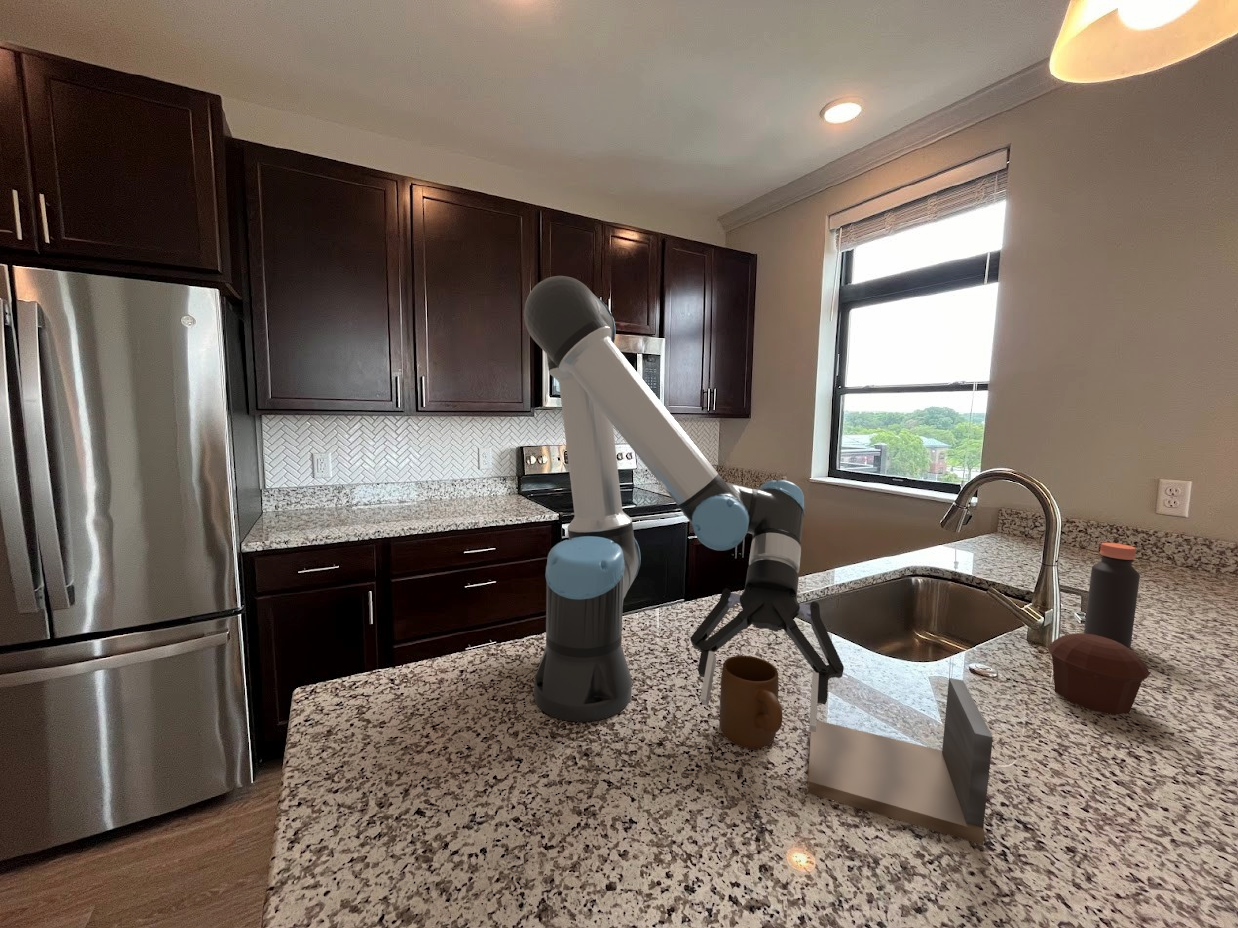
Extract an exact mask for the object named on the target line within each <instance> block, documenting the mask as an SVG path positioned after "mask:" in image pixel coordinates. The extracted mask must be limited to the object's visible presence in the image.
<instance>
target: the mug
mask: <svg viewBox="0 0 1238 928" xmlns="http://www.w3.org/2000/svg"><path fill="white" fill-rule="evenodd" d="M777 669H778V668H776V666H775V665H773V664H772V663H770V662H769V661H767V660H765V659H762V658H760V657H756V656H751V655H736V656H735V655H734V656H731V657H728V658H726V660H724V662H723V663H722V668H721V679H720V694H719V696H720V697H719V718H718V721H719V722H718V723H719V729H720V732H721V734H722V735H723V737H724V738H725V739H726V740H728V741H729V743H732V744H734V745H736V746H737V747H740V748H744V749H747V750H748V749H749V750H759V749H764V748H767V747H768V746H770V745H771V744H772V743H773V742H774V740H775V738H776V733H778V732H779V731H780V730H781V728H782V724H783V710H782V709H783V708H782V706H781V703H780V700H779V687H780V686H779V671H778V670H777Z"/></svg>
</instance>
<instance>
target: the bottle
mask: <svg viewBox="0 0 1238 928" xmlns="http://www.w3.org/2000/svg"><path fill="white" fill-rule="evenodd" d="M1136 553H1137V548H1136V547H1135V546H1131V545H1127V544H1123V543H1114V542H1101V543H1100V551H1099V556H1100V558H1101V560H1100V561H1099V562H1097V563H1095V564H1093V565H1092V567H1091V571H1090V580H1089V588H1088V597H1087V603H1086V604H1087V605H1086V611H1085V613H1086V614H1085V622H1084V628H1083V629H1084V630H1083V633H1085V634H1093V635H1098V636H1102V637H1105V638H1108V639H1111V640H1114V641H1116V642H1118V643H1121V644H1122V645H1124V646H1126V647H1127V648H1129V649H1131V647H1132V641H1133V640H1132V639H1133V632H1134V623H1135V616H1136V608H1137V601H1138V593H1139V585H1140V578H1141V576H1140V573H1139V571H1137V570H1136V568H1135V567H1133V566H1132V565H1133V563H1134V562H1135V560H1136V556H1137V555H1136Z"/></svg>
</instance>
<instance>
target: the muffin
mask: <svg viewBox="0 0 1238 928" xmlns="http://www.w3.org/2000/svg"><path fill="white" fill-rule="evenodd" d="M1046 648H1047V650H1048V652H1049V654H1050V655H1051V657H1052V658H1051V660H1052V671H1053V673H1052V674H1053V682H1054V683H1053V685H1054V693H1056V694H1058V695H1059V696H1061V697H1062V698H1064V699H1065V700H1066V702H1069V703H1072V704H1074V705H1077V706H1078V707H1079V706H1080V707H1081V708H1084V709H1086V710H1088V711H1091V712H1097V713H1103V714H1105V715H1112V716H1114V717H1115V716H1120V715H1130V712H1131V711H1132V708H1133V706H1134V703H1135V699H1137V695H1138V693H1139V690H1140V687H1141V685H1142V682H1143V681H1144V680H1146V679H1148V678H1149V677H1150V675H1151V672H1150V671H1149V669H1148V666H1147V665H1146V663H1145V662H1144V661H1143V660H1142V658H1140V656H1138V655H1137V653H1135V652H1134V651H1133V650H1131V648H1127V647H1126V646H1124V645H1122V644H1121V643H1118V642H1116V641H1114V640H1111V639H1108V638H1105V637H1102V636H1098V635H1093V634H1085V633H1084V632H1079V633H1078V632H1075V633H1068V634H1063V635H1061V636H1060V637H1058V638H1056V639H1054V640H1053V641H1052V642H1051V643H1050V644H1049V645H1048V646H1047V647H1046Z"/></svg>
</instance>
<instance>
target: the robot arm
mask: <svg viewBox="0 0 1238 928" xmlns="http://www.w3.org/2000/svg"><path fill="white" fill-rule="evenodd" d="M523 314H524V315H523V316H524V319H523V320H524V323H525V326H526V329H527V332H528V333H529V336H530V337H531V338H532V340H533V341H534V342H535V343H536V344H537V345H538V346H539V348H540V349H542V351H544V353H545V354H546V360H547V367H548V369H547V370H548V374H549V375H550V376H551V377H553V378H554V379H555V380H556V381H557V382H558V386H559V394H560V404H561V412H562V418H563V419H562V421H563V428H564V436H565V437H564V438H565V445H566V446H565V447H566V452H567V453H566V454H567V462H568V471H569V479H570V487H571V496H572V504H573V513H574V517H573V519H572V520H571V522H570V523H569V524H568V525H567V532H568V535H567V536H568V539H565V540H563V541H560V542H557V543H556V544H555V545H554V546H553V547H552V548H551V549H550V551H549V552H548V554H547V561H546V566H545V580H546V581H545V585H546V586H545V589H546V590H545V591H546V594H545V597H546V599H545V601H546V602H545V606H546V607H545V612H546V613H545V618H546V619H545V647H544V650H543V653H542V657H541V659H540V662H539V664H538V668H537V670H536V673H535V677H534V681H533V699H534V702H535V704H536V705H537V707H538V708H539V709H540V710H541V711H543V712H544V713H546V714H547V715H548V716H551V717H553V718H555V719H559V720H563V721H567V722H578V723H580V722H581V723H582V722H583V723H584V722H594V721H600V720H603V719H607V718H610V717H612V716H614V715H616V714H618V713H620V712H621V711H622V710H624V709H625V708H626V707H627V706H628V705H629V703H630V702H631V699H632V693H633V692H632V691H633V690H632V688H633V686H632V685H633V680H632V676H631V673H630V669H629V665H628V662H627V660H626V656H625V653H624V648H623V646H622V641H623V640H622V637H623V607H624V606H623V605H624V599H625V598H626V596H627V593H628V591H629V589H630V588H631V586H632V584H633V582H634V581H635V580H636V578H637V576H638V573H639V570H640V567H641V550H640V546H639V544H638V541H637V539H636V538H635V535H634V526H633V519H632V517H630V516H629V515H628V514H627V513H625V512H624V511H623V505H622V495H621V487H620V477H619V469H618V461H617V459H618V458H617V450H616V441H615V432H614V428H615V429H616V430H617V432H618V433H619V435H621V437H622V438H623V439H624V441H625V442H626V443H627V444H628V445H629V447H630V448H631V449H632V450H633V452H634V453H635V454H636V455H637V457H638V458H639V459H640V460H641V462H642V463H643V464H644V465H645V467H646V468H647V469H648V470H649V472H650V473H651V474H652V475H653V477H654V478H655V479H656V481H657V482H658V483H659V484H660V485H661V486H662V488H663V490H664V491H666V493H667V494H668V495H669V496H670V498H671V499H672V500H673V501H674V503H676V505H677V507H678V508H679V509H680V511H681V512H682V513H683V515H684V516H685V517H686V519H687V520H688V521H689V522H690V524H691V528H692V529H693V533H694V534H695V536H696V539H697V540H698V541H699V542H700V543H701V544H702V545H704V546H705V547H707V548H708V549H711V550H714V551H729V550H731V549H733V548H736V547H737V546H739V545H740V544H741V543H742V541H743V540H744V539H745V538H746V536H747V534H751V535H752V540H751V544H750V545H751V546H750V550H749V551H750V553H749V559H748V560H749V561H748V567H747V572H746V579H745V584H744V585H745V586H744V590H743V592H742V594H739V593H734V592H732V591H731V590H730V588H726V587H725V588H723V589H722V592H721V595H720V598H719V600H718V602H717V603H716V605H715V606H714V607H713V609H711V611H710V612H709V613H708V615H707V616H706V617H705V618H704V619H703V620H702V622H701V623H700V625H699V626H698V627H697V628H696V629H695V631H694V632H693V634H691V636H690V642H691V645H692V647H693V649H694V650H697V651H699V652H700V657H699V663H698V666H697V672H698V675H699V678H703V682H702V686H701V687H702V688H701V693H700V697H699V698H700V699H699V700H700V702H701V703H702V705H703V706H707V707H709V704H710V700H711V699H710V698H711V691H712V688H713V682H714V675H715V668H716V663H717V657H716V652H717V651H718V650H719V649H721V648H722V647H723V646H724V645H726V644H727V643H728V642H730V640H731V639H733V638H735V637H736V636H737V635H738V634H739V633H741V632H742V631H743V630H746V629H748V628H749V627H750V626H751V625H753V626H754V627H755V629H759V630H763V629H764V630H765V629H767V630H770V631H771V632H777V633H779V631H782V630H783V631H784V632H785V634H786V635H787V637H788V638H790V639H791V640H792V642H793V644H794V645H795V646H796V648H797V649H798V651H799V652H800V653H801V654H802V656H803V657H804V658H805V660H806V661H807V663H808V664H809V665H810V667H811V669H812V670H813V671H812V673H811V674H812V675H811V676H812V677H811V693H810V694H811V695H810V709H809V710H810V711H809V728H808V731H809V732H811V731H812V732H816V721H818V720H817V717H818V716H817V715H818V704H820V705H823V706H824V705H825V706H826V704H827V702H828V698H829V697H828V693H829V681H830V679H833V678H837V679H841V678H842V677H843V673H844V669H845V667H844V664H843V662H842V660H841V658H840V656H839V654H838V651H837V649H836V648H835V645H834V643H833V641H832V639H831V637H830V635H829V633H828V631H827V629H826V626H825V625H824V624H825V623H824V622H823V621H822V617H821V612H820V611H821V610H820V609H821V608H820V603H818V602H817V601H812V602H810V604H803V603H802V604H801V603H799V601H798V591H799V590H798V589H799V578H800V577H799V576H800V575H799V572H800V567H801V566H800V564H801V553H802V535H803V527H804V518H805V512H806V511H805V496H804V492H803V491H802V489H801V488H800V487H799V486H798V485H797V484H795V483H794V482H792V481H788V480H785V479H779V480H778V481H777V480H775V479H774V480H773V479H772V480H769V481H766V482H764V483H762V485H761V486H760V488H758V489H757V488H751V487H747V486H743V485H740V484H735V483H731V482H726V481H725V480H724V478H722V477H721V476H720V474H719V472H718V471H717V470H716V469H715V467H713V465H712V464H711V463H710V462H709V460H708V459H707V458H706V457H705V455H704V454H703V453H702V451H701V450H700V449H699V448H698V446H697V445H696V444H695V443H694V441H692V439H691V438H690V437H689V435H688V434H687V433H686V431H685V430H684V429H683V428H682V427H681V425H680V424H679V423H678V421H676V419H675V417H673V416H672V414H671V413H670V411H668V409H667V408H666V406H665V405H664V404H663V403H662V402H661V401H660V399H659V398H658V397H657V396H656V394H655V393H654V392H653V391H652V390H651V388H650V387H649V386H648V384H647V383H646V381H644V379H643V378H642V377H641V376H640V374H639V373H638V372H637V370H635V367H633V366H632V364H631V363H630V362H629V361H628V359H627V358H626V356H625V355H624V354H623V353H622V352H621V351H620V350H619V348H618V346H616V344H615V340H616V336H617V335H616V324H615V319H614V317H613V315H612V312H611V311H610V309H609V307H608V306H607V304H605V303H604V301H603V300H601V298H599V297H597V296H596V295H595V294H594V293H593V292H592V290H590V288H589V287H587V285H586V284H584V283H583V282H581V281H580V280H578V279H577V278H574V277H570V276H565V275H556V276H555V275H554V276H550V277H546V278H545V279H543V280H541V281H540V282H538V283H537V284H536V285H534V287H533V288H532V290H531V291H530V292H529V294H528V296H527V298H526V301H525V305H524V311H523ZM736 604H740V607H741V609H742V610H740V611H739V612H738V613H737V615H736V616H735V617H734V618H733V619H731V620H730V621H729V622H727V623H726V624H724V625H723V626H722V627H721V628H719V629H718V630H717V631H716V632H715V633H713V632H714V631H715V629H716V628H717V627H718V626H719V624H720V623H721V621H723V619H724V618H725V617H726V615H727V614H728V612H729V610H730V609H732V608H734V607H735V605H736ZM799 614H801V615H803V616H804V620H806V621H807V622H810V625H811V629H812V631H813V634H814V635H815V638H816V640H817V642H818V644H819V646H820V649H821V651H822V653H823V656H824V658H825V660H826V662H827V664H826V663H825V662H824V660H823V659H822V657H821V656H820V655H819V653H818V652H817V651H816V649H815V648H814V647H813V645H812V644H811V642H809V639H807V637H806V636H805V635H804V633H803V632H802V630H801V629H800V628H799V626H798V624H797V622H796V621H795V618H797V616H799ZM712 633H713V634H712ZM711 634H712V635H711ZM710 635H711V636H710Z"/></svg>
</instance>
